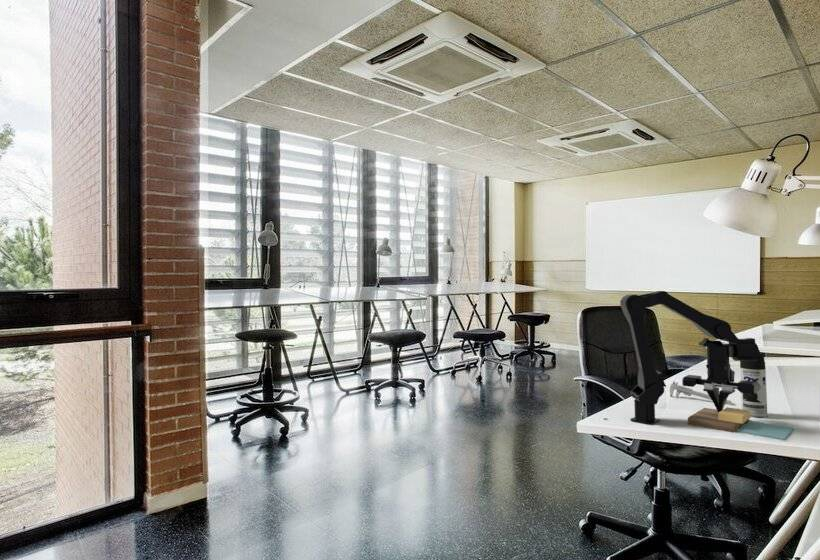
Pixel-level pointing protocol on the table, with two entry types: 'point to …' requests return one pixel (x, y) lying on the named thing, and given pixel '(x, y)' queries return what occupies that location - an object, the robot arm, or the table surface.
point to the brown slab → (713, 421)
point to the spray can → (758, 374)
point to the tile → (734, 415)
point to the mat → (766, 430)
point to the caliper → (690, 392)
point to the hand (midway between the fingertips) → (720, 412)
